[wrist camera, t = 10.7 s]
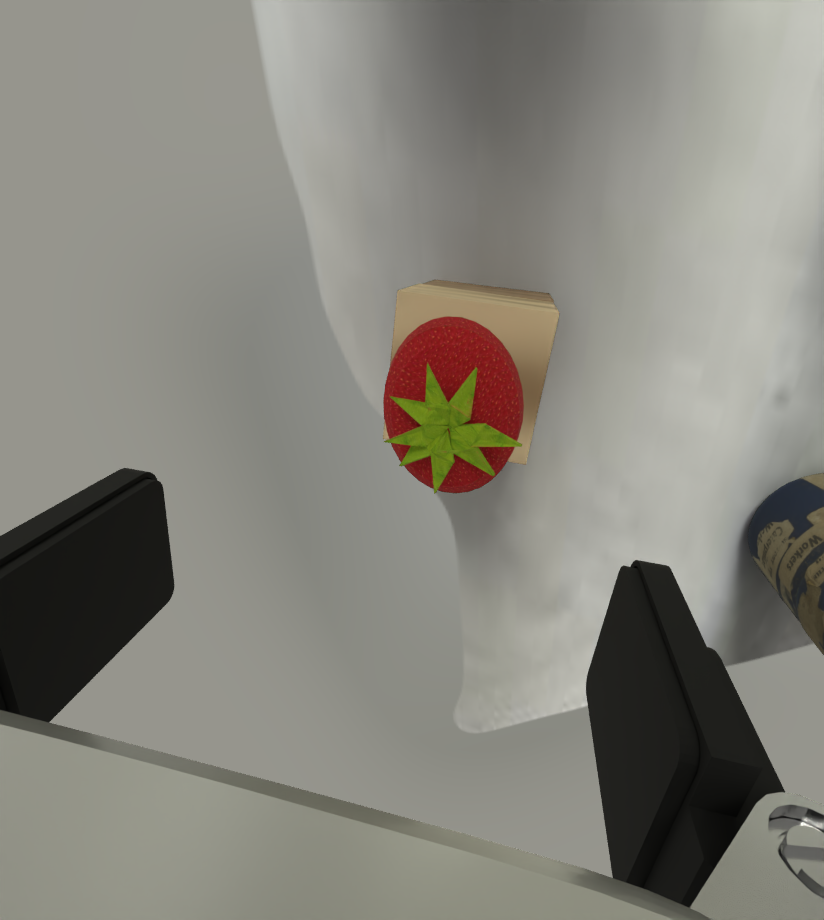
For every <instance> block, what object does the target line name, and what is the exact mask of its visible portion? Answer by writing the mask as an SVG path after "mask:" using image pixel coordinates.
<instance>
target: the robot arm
mask: <svg viewBox="0 0 824 920" xmlns="http://www.w3.org/2000/svg"><path fill="white" fill-rule="evenodd" d="M173 590H174V578H173V569H172V561H171V552H170V543H169V535H168V526H167V519H166V509H165V501H164V492H163V487H162V484H161V482H159V481H157V478H156V477H155V475H154V474H152V473H150V472H145V471H139V470H134V469H128V468H123V469H120V470H118V471H116V472H115V473H113V474H111V475H109V476H107V477H106V478H104V479H102V480H100V481H98V482H97V483H95V484H93V485H91V486H89V487H88V488H86V489H84V490H82V491H80V492H79V493H77V494H75V495H73V496H71V497H70V498H68V499H66V500H64V501H62V502H61V503H59V504H57V505H55V506H54V507H52V508H50V509H48V510H46V511H45V512H43V513H41V514H39V515H37V516H36V517H34V518H32V519H30V520H28V521H27V522H25V523H23V524H21V525H19V526H18V527H16V528H14V529H12V530H10V531H9V532H7V533H5V534H3V535H2V536H0V920H824V805H822V804H821V803H818V802H816V801H813V800H811V799H808V798H806V797H803V796H801V795H795V794H790V793H785V791H784V789H783V787H782V784H781V782H780V780H779V778H778V776H777V774H776V772H775V770H774V768H773V766H772V764H771V762H770V760H769V758H768V756H767V753H766V751H765V749H764V747H763V745H762V743H761V741H760V739H759V737H758V735H757V733H756V731H755V729H754V726H753V724H752V722H751V720H750V718H749V716H748V714H747V712H746V710H745V708H744V706H743V704H742V702H741V700H740V697H739V695H738V693H737V691H736V689H735V687H734V685H733V683H732V681H731V679H730V677H729V675H728V673H727V670H726V668H725V666H724V664H723V662H722V660H721V658H720V657H719V655H718V654H717V652H716V651H715V650H713V649H712V648H709V647H707V646H706V644H705V642H704V640H703V638H702V636H701V633H700V631H699V629H698V627H697V625H696V623H695V620H694V618H693V616H692V614H691V612H690V610H689V607H688V605H687V603H686V601H685V599H684V597H683V594H682V592H681V590H680V588H679V586H678V584H677V581H676V579H675V577H674V575H673V573H672V571H671V569H670V567H669V566H666V565H660V564H655V563H649V562H644V561H638V560H635V561H634V562H633V563H632V565H631V567H628V566H622V567H621V569H620V571H619V573H618V577H617V580H616V583H615V586H614V590H613V593H612V596H611V599H610V603H609V606H608V609H607V613H606V616H605V619H604V622H603V626H602V629H601V632H600V635H599V639H598V642H597V645H596V648H595V652H594V655H593V658H592V662H591V665H590V668H589V671H588V675H587V682H586V695H587V702H588V708H589V716H590V722H591V729H592V737H593V743H594V750H595V757H596V764H597V771H598V778H599V785H600V792H601V798H602V806H603V813H604V820H605V826H606V833H607V840H608V847H609V854H610V861H611V868H612V875H613V878H611V877H607V876H605V875H602V874H599V873H596V872H592V871H590V870H587V869H584V868H581V867H577V866H574V865H571V864H567V863H564V862H560V861H557V860H553V859H550V858H547V857H543V856H540V855H536V854H533V853H529V852H526V851H522V850H519V849H516V848H512V847H509V846H505V845H502V844H498V843H495V842H492V841H488V840H485V839H481V838H478V837H474V836H471V835H468V834H464V833H460V832H457V831H453V830H449V829H446V828H442V827H438V826H435V825H431V824H427V823H423V822H420V821H416V820H412V819H409V818H405V817H401V816H398V815H394V814H390V813H387V812H383V811H379V810H376V809H372V808H368V807H364V806H361V805H357V804H354V803H350V802H346V801H343V800H339V799H335V798H332V797H328V796H324V795H320V794H316V793H313V792H309V791H306V790H302V789H299V788H295V787H291V786H287V785H284V784H280V783H276V782H272V781H269V780H265V779H261V778H257V777H253V776H250V775H246V774H242V773H238V772H235V771H231V770H227V769H224V768H220V767H216V766H212V765H208V764H205V763H201V762H197V761H193V760H190V759H186V758H182V757H178V756H175V755H171V754H167V753H163V752H159V751H155V750H152V749H148V748H144V747H140V746H136V745H133V744H129V743H125V742H122V741H117V740H114V739H110V738H106V737H103V736H98V735H95V734H91V733H87V732H83V731H79V730H75V729H71V728H68V727H64V726H60V725H56V724H52V723H49V722H50V721H51V720H52V719H53V718H54V717H55V716H56V715H57V714H58V713H59V712H60V711H61V710H62V709H63V708H64V707H65V706H66V705H67V704H68V703H69V702H70V701H71V700H72V699H73V698H74V697H75V696H76V695H77V693H79V692H80V691H81V690H82V689H83V688H84V687H85V686H86V684H87V683H89V682H90V680H91V679H93V677H94V676H95V675H96V674H97V673H98V672H99V671H100V670H101V669H102V668H103V667H104V666H105V665H106V664H107V663H108V662H109V661H110V660H111V659H112V658H113V657H114V656H115V655H116V654H117V653H118V652H119V651H120V650H121V649H122V648H123V647H124V646H125V645H126V644H127V643H128V642H129V641H130V640H131V639H132V638H133V637H134V636H135V635H136V634H137V633H138V632H139V631H140V630H141V629H142V628H143V627H144V626H145V625H146V624H147V623H148V622H149V621H150V620H151V619H152V618H153V617H154V616H155V615H156V614H157V613H158V612H159V611H160V610H161V609H162V608H163V607H164V606H165V605H166V604H167V603H168V602H169V600H170V599H171V597H172V594H173Z"/></svg>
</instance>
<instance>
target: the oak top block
mask: <svg viewBox="0 0 824 920" xmlns="http://www.w3.org/2000/svg"><path fill="white" fill-rule="evenodd" d="M559 314H560V313H559V311H558V310H557V308H556V307H555V305H554V303H553V302H549V301H542V300H534V299H527V298H520V297H513V296H505V295H498V294H491V293H484V292H477V291H469V290H462V289H455V288H448V287H440V286H433V285H426V284H416V285H413V286H410V287H407V288H404V289H401V290H398V292H397V302H396V312H395V322H394V332H393V342H392V352H391V362H392V360H393V358H394V356H395V354H396V352H397V350H398V348H399V346H400V345H401V344H402V342H403V341H404V340H405V339H406V337H407V336H408V335H409V334H410V333H411V332H413V331H414V330H415V329H416V328H417V327H418V326H420V325H422V324H424V323H426V322H428V321H430V320H432V319H436V318H441V317H446V316H451V317H463V318H466V319H469V320H472V321H475V322H477V323H479V324H480V325H482V326H484V327H485V328H487V329H489V330H490V331H491V332H492V333H493V334H494V335H495V336H496V337H497V338H498V339H499V340H500V341H501V342H502V343H503V345H504V346H505V348H506V349H507V350H508V352H509V353H510V355H511V357H512V359H513V361H514V363H515V366H516V368H517V370H518V373H519V377H520V381H521V385H522V390H523V400H524V411H523V423H522V426H521V430H520V434H519V438H518V440H517V442H519V443H521V444H522V447H515V448H514V450H513V453H512V454H511V456H510V458H509V459H508V462H513V463H519V464H524V465H526V462H527V457H528V453H529V448H530V444H531V439H532V435H533V430H534V426H535V421H536V417H537V412H538V408H539V404H540V399H541V395H542V390H543V386H544V381H545V377H546V372H547V368H548V363H549V359H550V354H551V350H552V345H553V341H554V336H555V332H556V327H557V323H558V318H559ZM391 362H390V366H391ZM383 439H386V440H388V439H389V436H388V433H387V429H386V424H385V423H384V433H383Z"/></svg>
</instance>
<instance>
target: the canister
mask: <svg viewBox="0 0 824 920" xmlns="http://www.w3.org/2000/svg"><path fill="white" fill-rule="evenodd" d="M748 543H749V548H750V552H751V555H752V557H753V559H754V561H755V563H756V564H757V566H758V567H759V569H760V570H761V572H762V573H763V574H764V576H765V577H766V578H767V579H768V581H769V582H770V583H771V585H772V586H773V587H774V589H775V590H776V591H777V593H778V594H779V596H780V598H781V599H782V600H783V601H784V602H785V603H786V605H787V606H788V607H789V609H790V610H791V611H792V613H793V614H794V615H795V617H796V618H797V619H798V620H799V622H800V623H801V625H802V627H803V628H804V630H805V631H806V633H807V634H808V636H809V637H810V638H811V640H812V641H813V642H814V643H815V645H816V646H817V647H818V648H819V650H820V651H821V652H822V654H823V655H824V473H820V474H814V475H810V476H806V477H802V478H800V479H797V480H795V481H792V482H790V483H788V484H786V485H784V486H782V487H780V488H779V489H778V490H776V491H775V492H774V493H772V494H771V495H770V496H769V497H768V498H767V499H766V500H765V501H764V502H763V503H762V504H761V506H760V507H759V508H758V510H757V511H756V513H755V515H754V517H753V519H752V521H751V524H750V528H749V534H748Z"/></svg>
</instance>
